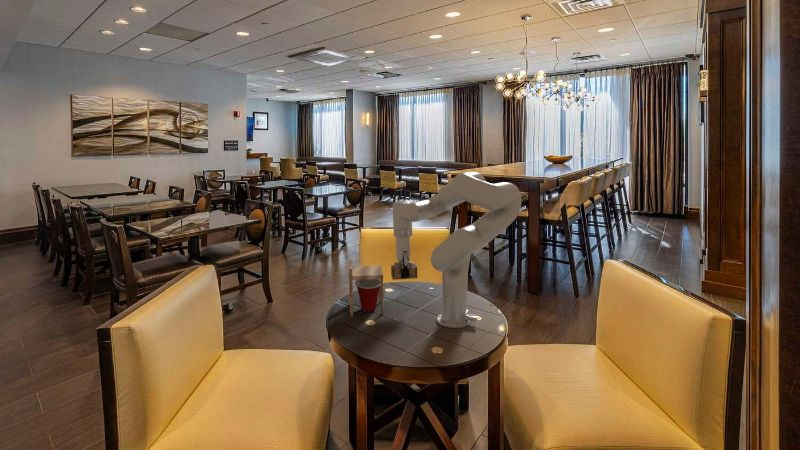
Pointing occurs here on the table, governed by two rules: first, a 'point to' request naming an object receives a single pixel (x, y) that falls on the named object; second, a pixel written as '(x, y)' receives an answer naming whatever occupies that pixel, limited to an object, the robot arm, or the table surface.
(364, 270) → the tan flanged panel
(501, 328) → the table surface
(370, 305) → the plastic cup
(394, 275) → the tray
